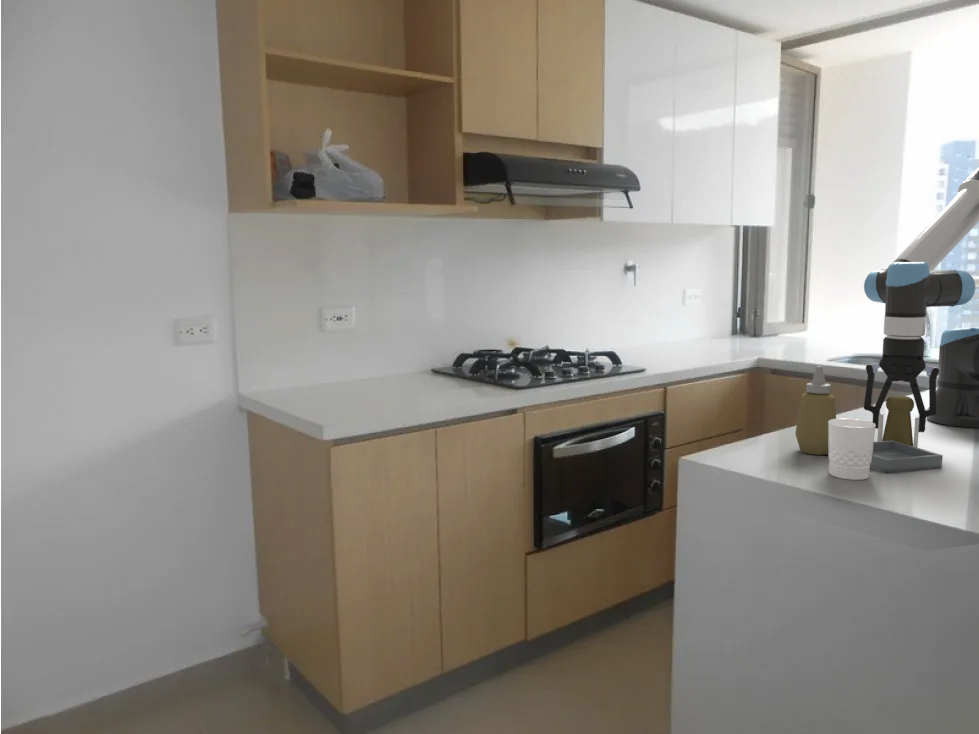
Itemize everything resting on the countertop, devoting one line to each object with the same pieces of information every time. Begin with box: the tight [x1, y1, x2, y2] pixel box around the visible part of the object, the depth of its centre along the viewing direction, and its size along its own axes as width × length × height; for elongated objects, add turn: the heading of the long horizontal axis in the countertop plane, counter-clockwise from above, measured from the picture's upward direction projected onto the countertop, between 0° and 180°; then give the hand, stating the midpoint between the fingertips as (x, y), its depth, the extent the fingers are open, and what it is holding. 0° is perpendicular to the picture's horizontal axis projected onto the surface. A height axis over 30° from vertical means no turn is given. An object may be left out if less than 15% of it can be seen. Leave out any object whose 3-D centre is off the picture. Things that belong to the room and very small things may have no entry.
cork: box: [882, 394, 915, 446], centre depth 158 cm, size 6×6×11 cm
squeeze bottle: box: [795, 365, 837, 456], centre depth 155 cm, size 8×8×18 cm
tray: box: [870, 440, 944, 474], centre depth 148 cm, size 13×13×2 cm
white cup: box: [827, 417, 876, 481], centre depth 139 cm, size 8×8×10 cm
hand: (897, 444), depth 159 cm, fingers closed on cork, 6 cm apart
